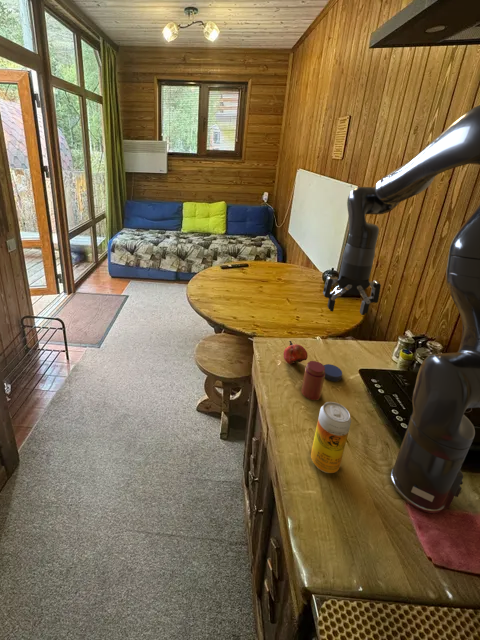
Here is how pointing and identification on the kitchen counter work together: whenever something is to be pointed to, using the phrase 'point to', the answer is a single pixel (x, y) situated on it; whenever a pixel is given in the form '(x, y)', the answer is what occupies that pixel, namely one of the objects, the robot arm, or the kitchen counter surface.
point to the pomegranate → (295, 354)
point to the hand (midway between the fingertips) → (346, 312)
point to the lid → (332, 372)
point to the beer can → (330, 437)
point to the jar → (313, 380)
